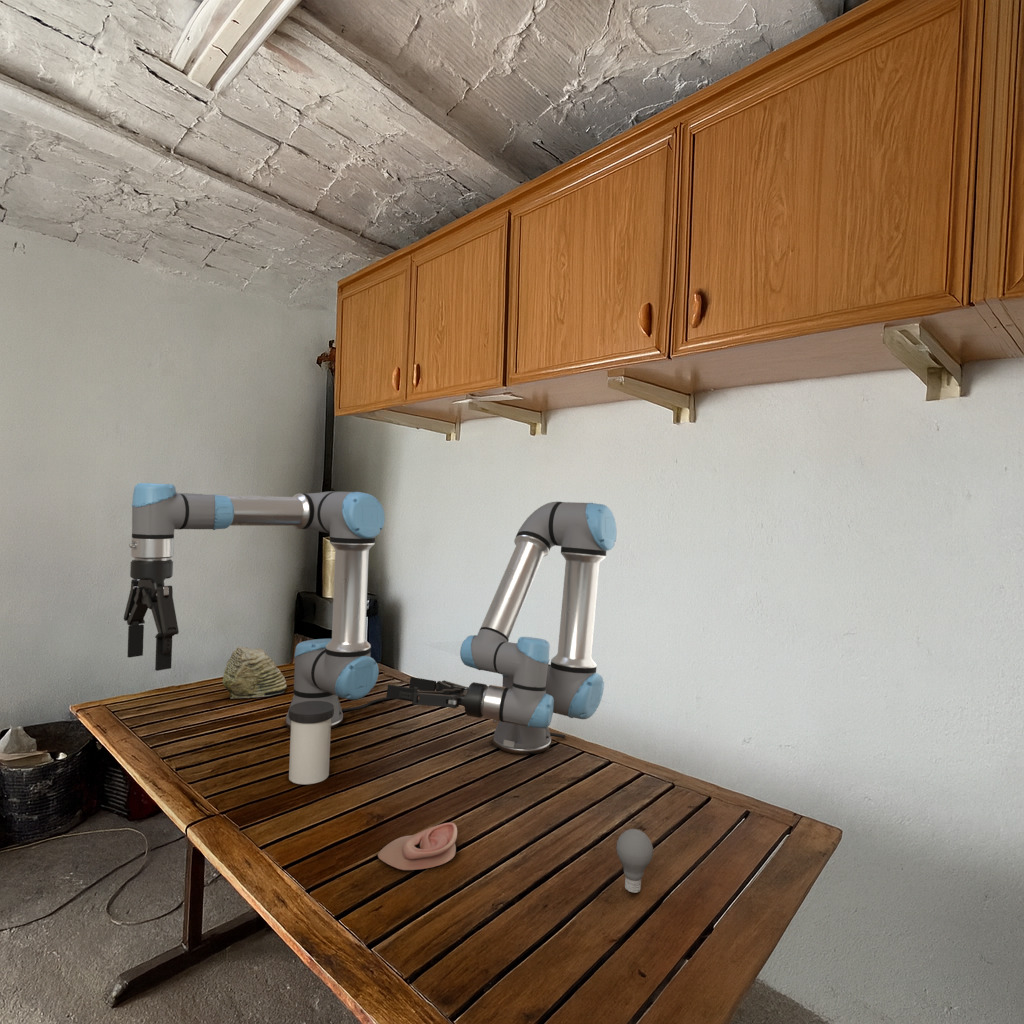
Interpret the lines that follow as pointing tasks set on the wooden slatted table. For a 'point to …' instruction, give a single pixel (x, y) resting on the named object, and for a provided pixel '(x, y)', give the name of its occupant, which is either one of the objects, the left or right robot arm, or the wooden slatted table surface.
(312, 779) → the jar
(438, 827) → the anatomical model
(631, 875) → the light bulb
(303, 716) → the lid
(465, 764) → the wooden slatted table surface
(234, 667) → the fossil
